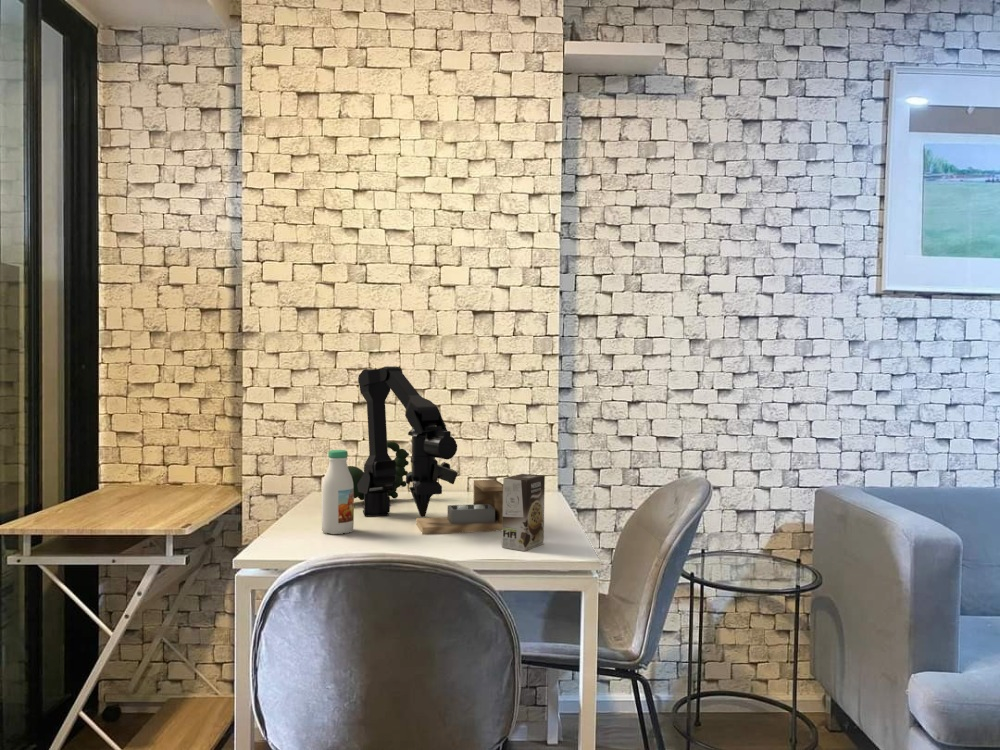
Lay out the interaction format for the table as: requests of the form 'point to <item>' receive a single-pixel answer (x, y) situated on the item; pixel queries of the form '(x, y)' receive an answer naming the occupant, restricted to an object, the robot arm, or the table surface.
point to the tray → (471, 514)
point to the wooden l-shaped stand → (483, 494)
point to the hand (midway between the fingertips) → (422, 516)
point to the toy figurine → (400, 471)
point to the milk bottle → (337, 495)
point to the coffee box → (523, 511)
